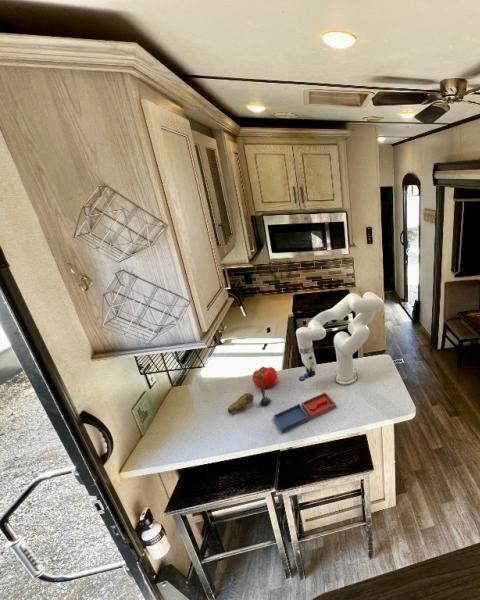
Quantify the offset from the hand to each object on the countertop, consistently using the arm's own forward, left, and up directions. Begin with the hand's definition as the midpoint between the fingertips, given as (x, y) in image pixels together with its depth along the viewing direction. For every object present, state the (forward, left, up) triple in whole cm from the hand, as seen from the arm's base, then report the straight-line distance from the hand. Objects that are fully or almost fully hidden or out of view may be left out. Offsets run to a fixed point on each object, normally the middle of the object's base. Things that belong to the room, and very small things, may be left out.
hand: (310, 375), depth 189 cm
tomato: (+20, -22, -10) cm, 32 cm away
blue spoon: (+2, 0, 0) cm, 3 cm away
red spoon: (+4, +16, -10) cm, 19 cm away
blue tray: (+19, +16, -10) cm, 27 cm away
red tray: (+4, +16, -10) cm, 19 cm away
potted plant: (+26, -6, -10) cm, 29 cm away
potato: (+37, -9, -11) cm, 40 cm away
